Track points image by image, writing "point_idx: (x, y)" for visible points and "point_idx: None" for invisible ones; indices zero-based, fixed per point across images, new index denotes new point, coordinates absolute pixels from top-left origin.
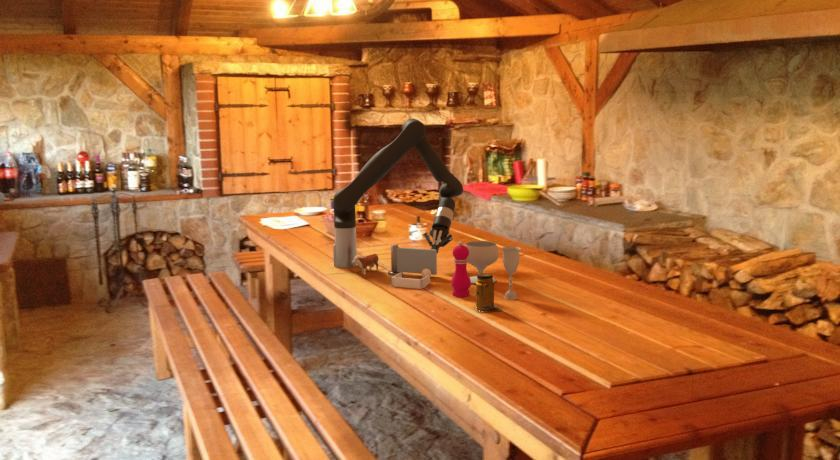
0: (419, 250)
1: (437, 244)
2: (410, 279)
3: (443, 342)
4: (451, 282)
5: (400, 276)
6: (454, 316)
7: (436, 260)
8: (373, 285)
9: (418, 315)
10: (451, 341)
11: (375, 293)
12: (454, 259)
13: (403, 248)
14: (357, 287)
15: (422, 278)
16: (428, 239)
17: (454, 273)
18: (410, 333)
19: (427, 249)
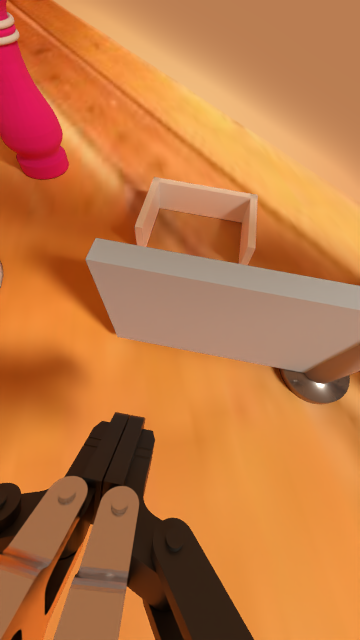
0: (214, 264)
1: (67, 481)
2: (191, 184)
3: (94, 42)
4: (58, 122)
5: (244, 244)
6: (74, 87)
7: (104, 301)
8: (302, 225)
9: (136, 91)
10: (84, 43)
11: (261, 173)
12: (11, 15)
13: (343, 283)
14: (332, 209)
15: (154, 189)
16: (205, 610)
17: (37, 88)
18: (138, 56)
19: (156, 260)
